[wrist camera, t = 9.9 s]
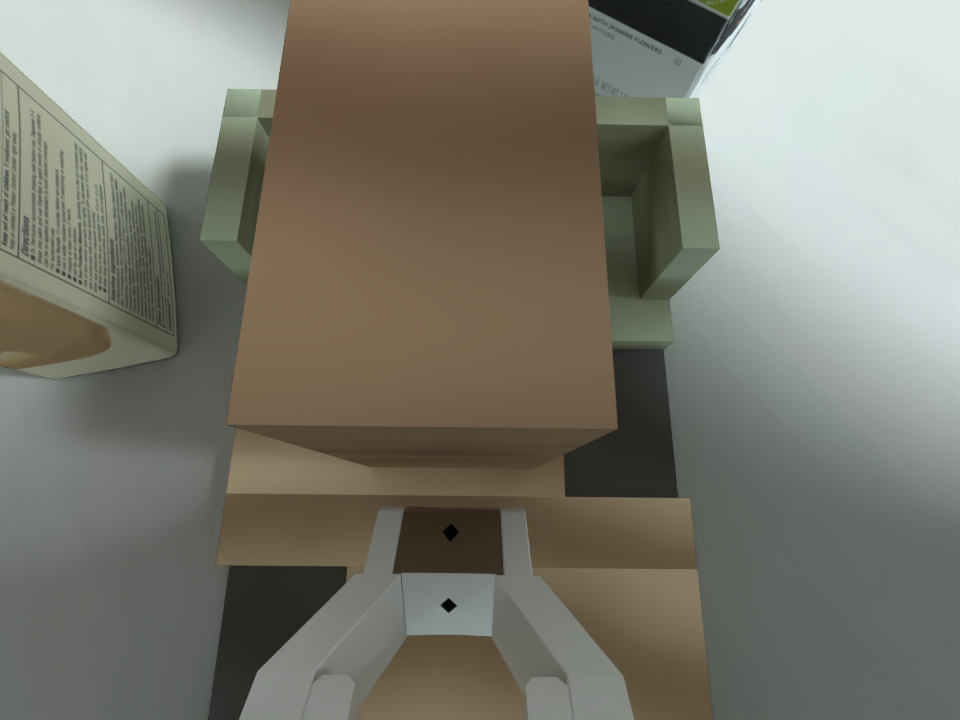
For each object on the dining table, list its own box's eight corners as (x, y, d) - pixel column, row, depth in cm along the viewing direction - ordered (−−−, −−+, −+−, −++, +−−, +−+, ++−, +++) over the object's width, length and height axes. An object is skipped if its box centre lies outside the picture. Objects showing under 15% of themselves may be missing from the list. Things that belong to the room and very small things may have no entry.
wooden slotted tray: (736, 1122, 12) (892, 1488, 7) (153, 1125, 12) (-39, 1502, 7) (646, 190, 19) (698, 98, 14) (284, 183, 19) (227, 88, 14)
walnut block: (533, 469, 15) (617, 428, 6) (370, 467, 15) (225, 424, 6) (528, 236, 17) (586, -33, 8) (385, 234, 17) (296, -40, 8)
